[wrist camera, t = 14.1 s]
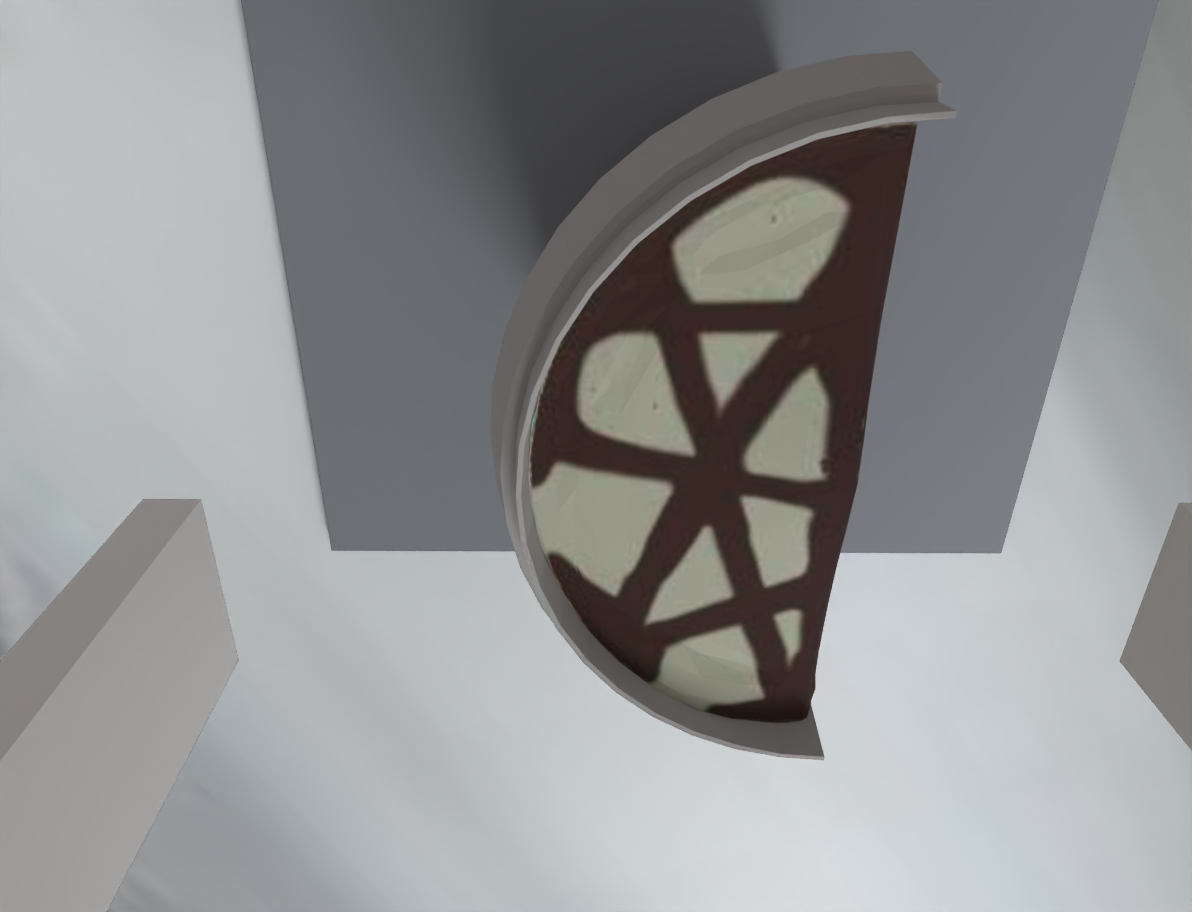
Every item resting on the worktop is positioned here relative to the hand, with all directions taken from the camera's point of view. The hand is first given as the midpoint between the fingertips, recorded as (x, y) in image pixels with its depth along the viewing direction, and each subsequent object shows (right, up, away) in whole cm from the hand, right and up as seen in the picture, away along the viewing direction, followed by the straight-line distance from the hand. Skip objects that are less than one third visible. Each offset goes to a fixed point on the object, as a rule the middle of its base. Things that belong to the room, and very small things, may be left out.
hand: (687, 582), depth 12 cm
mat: (+1, +6, +10) cm, 12 cm away
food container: (0, +6, +10) cm, 12 cm away
